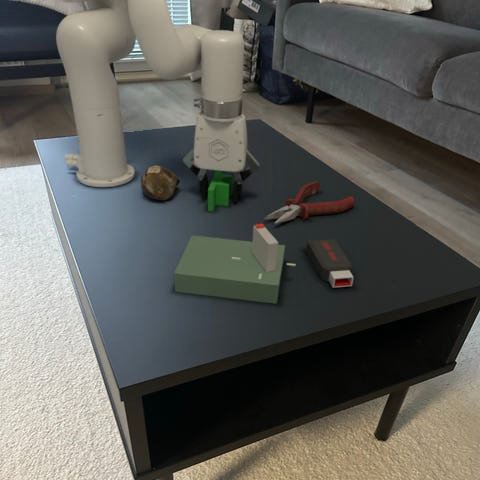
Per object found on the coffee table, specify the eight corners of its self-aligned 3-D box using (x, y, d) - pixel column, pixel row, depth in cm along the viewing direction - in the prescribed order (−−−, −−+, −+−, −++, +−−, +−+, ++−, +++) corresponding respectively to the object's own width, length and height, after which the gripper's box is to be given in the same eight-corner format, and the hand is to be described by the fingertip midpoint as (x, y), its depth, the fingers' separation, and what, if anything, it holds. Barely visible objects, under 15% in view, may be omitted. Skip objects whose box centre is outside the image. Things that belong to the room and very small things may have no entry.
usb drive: (333, 249, 90) (335, 235, 88) (357, 287, 81) (360, 272, 79) (305, 251, 89) (307, 237, 88) (326, 289, 80) (329, 274, 78)
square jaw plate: (275, 270, 77) (278, 240, 74) (266, 272, 77) (268, 242, 74) (260, 251, 82) (262, 222, 78) (251, 253, 81) (253, 224, 78)
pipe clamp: (226, 213, 100) (226, 191, 97) (207, 211, 100) (207, 189, 97) (233, 189, 109) (234, 169, 106) (216, 187, 109) (216, 167, 106)
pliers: (248, 216, 99) (248, 203, 97) (314, 189, 110) (315, 178, 108) (290, 238, 93) (292, 226, 91) (356, 208, 104) (358, 196, 102)
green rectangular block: (175, 291, 78) (173, 272, 76) (192, 252, 87) (191, 234, 85) (290, 305, 76) (292, 285, 74) (295, 264, 86) (297, 245, 83)
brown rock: (153, 169, 109) (127, 193, 103) (163, 148, 104) (136, 172, 98) (181, 191, 110) (157, 216, 104) (192, 171, 105) (167, 196, 99)
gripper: (171, 109, 91) (175, 201, 102) (265, 117, 89) (259, 210, 100) (181, 98, 97) (184, 187, 108) (269, 105, 95) (263, 194, 106)
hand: (220, 197), depth 104 cm, fingers open, 5 cm apart
